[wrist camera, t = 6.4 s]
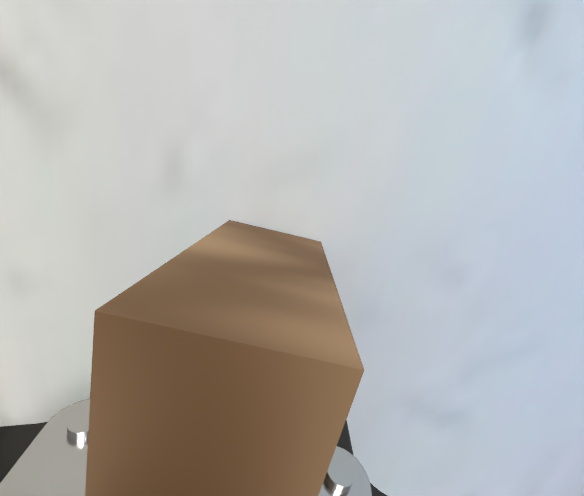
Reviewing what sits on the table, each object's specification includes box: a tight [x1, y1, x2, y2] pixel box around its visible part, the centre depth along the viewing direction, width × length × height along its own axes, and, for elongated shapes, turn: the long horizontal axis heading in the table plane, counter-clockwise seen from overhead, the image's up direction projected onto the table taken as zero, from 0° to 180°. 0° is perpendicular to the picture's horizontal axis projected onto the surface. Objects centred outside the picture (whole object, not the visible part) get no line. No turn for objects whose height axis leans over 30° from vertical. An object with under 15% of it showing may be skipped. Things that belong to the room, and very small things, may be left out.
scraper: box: [85, 220, 364, 496], centre depth 7 cm, size 8×8×6 cm
